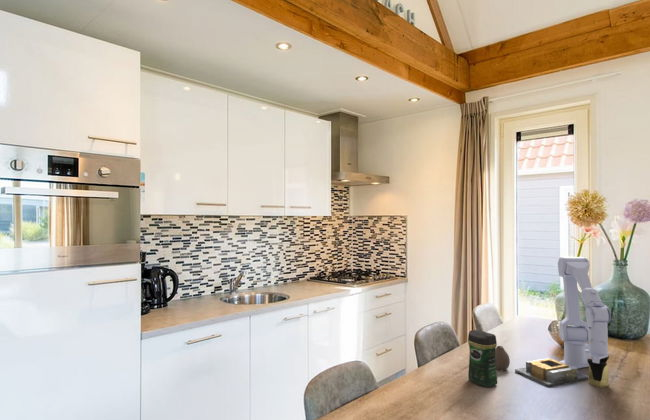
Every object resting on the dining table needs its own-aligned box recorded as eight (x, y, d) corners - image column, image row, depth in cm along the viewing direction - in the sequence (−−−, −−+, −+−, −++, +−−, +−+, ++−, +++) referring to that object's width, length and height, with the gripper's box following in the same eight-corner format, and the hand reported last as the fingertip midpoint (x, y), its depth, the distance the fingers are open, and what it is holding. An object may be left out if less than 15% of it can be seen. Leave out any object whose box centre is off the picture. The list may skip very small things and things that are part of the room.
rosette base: (552, 365, 163) (552, 353, 163) (588, 379, 149) (588, 366, 149) (515, 371, 156) (514, 360, 156) (548, 387, 142) (548, 374, 142)
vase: (511, 372, 155) (511, 350, 155) (492, 371, 156) (492, 349, 156) (507, 366, 162) (507, 344, 162) (489, 365, 163) (489, 343, 163)
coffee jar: (501, 385, 144) (500, 333, 144) (486, 389, 140) (486, 336, 140) (478, 375, 152) (478, 326, 152) (464, 380, 148) (464, 329, 148)
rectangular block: (596, 381, 147) (596, 360, 147) (608, 385, 143) (608, 364, 143) (588, 383, 145) (588, 362, 145) (600, 387, 141) (600, 366, 141)
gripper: (587, 333, 152) (588, 369, 152) (581, 342, 141) (582, 381, 141) (610, 336, 148) (610, 373, 148) (606, 346, 137) (606, 386, 137)
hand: (598, 377), depth 144 cm, fingers closed on rectangular block, 6 cm apart
